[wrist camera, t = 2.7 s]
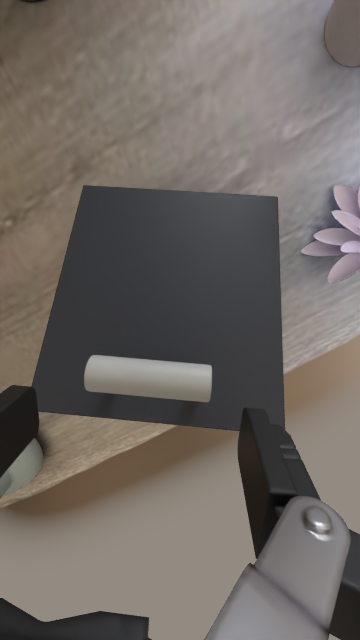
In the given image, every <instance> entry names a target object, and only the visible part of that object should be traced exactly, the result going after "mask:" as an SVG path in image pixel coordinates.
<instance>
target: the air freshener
mask: <svg viewBox="0 0 360 640" xmlns="http://www.w3.org/2000/svg"><path fill="white" fill-rule="evenodd" d="M42 466H43V453H42V449H41V447H40V445H39V443H38V442H37V440H36V439H35V438H34V439H33V440H32V441H31V442H30V443H29V445H28V446H27V447H26V448H25V449H24V451H23V452H22V453H21V454H20V455H19V457H18V458H17V459H16V460H15V461H14V462H13V464H12V465H11V466H10V467H9V468H8V470H7V471H6V472H5V473H4V474H3V476H2V477H1V478H0V498H1V497H2V496H3V495H7V494H10V493H13V492H15V491H16V490H18V489H20V488H21V487H23V486H24V485H26V484H27V483H28V482H29V481H31V480H32V479H33V478H34V477H35V476H36V475H37V474H38V473H39V472H40V470H41V469H42Z"/></svg>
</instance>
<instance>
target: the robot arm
mask: <svg viewBox="0 0 360 640" xmlns="http://www.w3.org/2000/svg"><path fill="white" fill-rule="evenodd" d="M26 1H37V0H26ZM38 427H39V414H38V404H37V394H36V390H35V388H34V387H28V386H17V385H12V386H10V387H9V388H7V389H6V390H5V391H3V392H2V393H1V394H0V478H1V477H2V476H3V474H4V473H5V472H6V471H7V470H8V468H9V467H10V466H11V465H12V464H13V462H14V461H15V460H16V459H17V458H18V457H19V455H20V454H21V453H22V452H23V451H24V449H25V448H26V447H27V446H28V445H29V443H30V442H31V441H32V440H33V439H34V437H35V435H36V433H37V431H38ZM238 461H239V467H240V473H241V478H242V483H243V489H244V495H245V500H246V506H247V512H248V517H249V523H250V528H251V534H252V539H253V545H254V550H255V556H256V559H257V561H256V562H255V564H254V565H252V564H251V563H250V564H248V565H247V567H246V568H245V569H244V571H243V572H242V574H241V576H240V578H239V579H238V581H237V583H236V584H235V586H234V588H233V590H232V591H231V594H230V595H229V597H228V599H227V600H226V602H225V604H224V606H223V607H222V609H221V611H220V613H219V614H218V616H217V618H216V620H215V621H214V623H213V625H212V627H211V628H210V630H209V632H208V634H207V636H206V637H205V639H204V640H328V638H329V633H330V634H331V635H333V636H335V637H337V638H339V639H341V640H360V534H358V533H356V532H353V531H352V530H350V529H348V527H347V525H346V523H345V522H344V520H343V519H342V518H341V516H340V515H339V514H338V513H337V512H336V511H335V510H334V509H333V508H331V507H330V506H329V505H327V504H326V503H324V502H322V501H321V499H320V497H319V495H318V493H317V491H316V489H315V487H314V485H313V483H312V480H311V478H310V476H309V474H308V472H307V470H306V468H305V465H304V463H303V461H302V460H301V458H300V455H299V453H298V451H297V450H296V446H295V444H294V442H293V440H292V438H291V436H290V435H289V434H288V433H287V432H286V431H285V430H284V429H283V428H282V427H281V426H280V425H275V424H271V423H270V420H269V418H268V415H267V413H266V410H265V409H257V408H246V407H244V409H243V412H242V419H241V426H240V432H239V440H238ZM148 628H149V618H148V617H141V616H133V615H126V614H118V613H110V612H103V611H98V612H94V613H89V614H84V615H79V616H75V617H69V618H64V619H60V620H55V621H50V622H43V621H40V620H38V619H36V618H34V617H33V616H31V615H29V614H28V613H26V612H24V611H23V610H21V609H19V608H18V607H16V606H14V605H12V604H11V603H9V602H8V601H6V600H4V599H3V598H0V640H151V639H150V638H148Z"/></svg>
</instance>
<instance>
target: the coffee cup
mask: <svg viewBox="0 0 360 640" xmlns="http://www.w3.org/2000/svg"><path fill="white" fill-rule="evenodd" d="M325 42H326V46H327V49H328V51H329V53H330V55H331V56H332V57H333V59H334V60H336V61H337V62H338V63H340V64H342V65H345V66H350V67H355V66H360V0H334V2H333V4H332V7H331V9H330V11H329V14H328V16H327V20H326V24H325Z"/></svg>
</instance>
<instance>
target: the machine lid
mask: <svg viewBox="0 0 360 640" xmlns="http://www.w3.org/2000/svg"><path fill="white" fill-rule="evenodd" d="M32 387H34V388H35V390H36V394H37V404H38V411H39V412H49V413H59V414H70V415H80V416H90V417H100V418H111V419H121V420H131V421H141V422H152V423H162V424H172V425H183V426H193V427H204V428H214V429H224V430H234V431H240V426H241V419H242V412H243V409H244V407H246V408H257V409H265V410H266V413H267V415H268V418H269V420H270V423H271V424H275V425H280V426H281V427H282V428H283V429H284V430H285V417H284V416H285V414H284V384H283V351H282V319H281V287H280V256H279V224H278V197H274V196H257V195H240V194H223V193H206V192H189V191H172V190H155V189H138V188H121V187H104V186H87V185H84V186H83V190H82V193H81V197H80V201H79V205H78V209H77V213H76V217H75V220H74V224H73V228H72V232H71V236H70V240H69V244H68V247H67V251H66V255H65V259H64V263H63V267H62V271H61V275H60V278H59V282H58V286H57V290H56V294H55V298H54V302H53V305H52V309H51V313H50V317H49V321H48V325H47V329H46V332H45V336H44V340H43V344H42V348H41V352H40V356H39V360H38V363H37V367H36V371H35V375H34V379H33V383H32Z"/></svg>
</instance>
